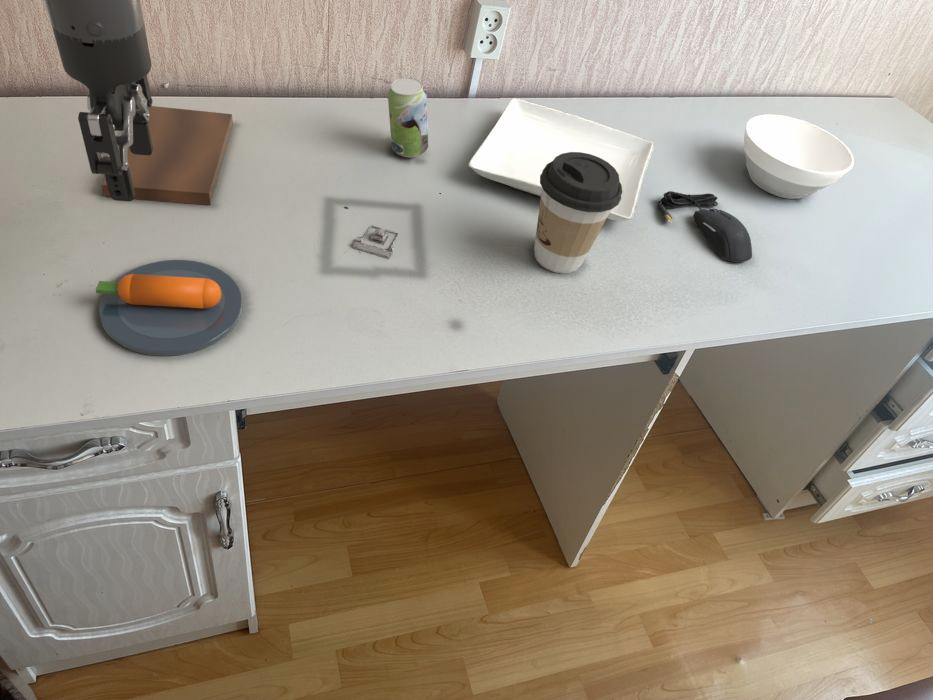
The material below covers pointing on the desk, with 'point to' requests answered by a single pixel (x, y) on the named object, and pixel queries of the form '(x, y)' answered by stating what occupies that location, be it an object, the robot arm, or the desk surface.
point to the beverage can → (408, 117)
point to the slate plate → (172, 314)
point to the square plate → (559, 150)
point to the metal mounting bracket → (379, 238)
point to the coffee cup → (573, 208)
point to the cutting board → (180, 156)
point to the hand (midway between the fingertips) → (133, 175)
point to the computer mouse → (713, 225)
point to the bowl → (793, 156)
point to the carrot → (164, 291)
